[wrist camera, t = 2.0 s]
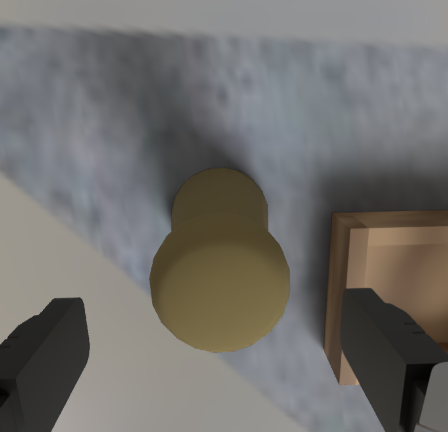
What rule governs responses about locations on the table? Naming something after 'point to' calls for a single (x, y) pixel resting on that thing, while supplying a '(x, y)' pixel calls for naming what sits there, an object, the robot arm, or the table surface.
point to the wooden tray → (388, 271)
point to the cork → (219, 265)
